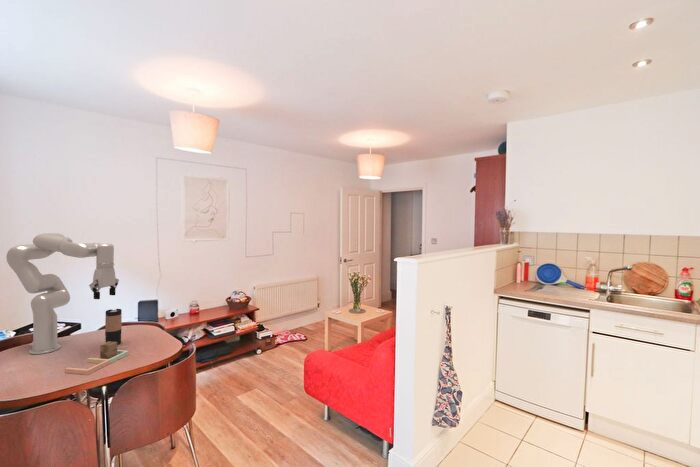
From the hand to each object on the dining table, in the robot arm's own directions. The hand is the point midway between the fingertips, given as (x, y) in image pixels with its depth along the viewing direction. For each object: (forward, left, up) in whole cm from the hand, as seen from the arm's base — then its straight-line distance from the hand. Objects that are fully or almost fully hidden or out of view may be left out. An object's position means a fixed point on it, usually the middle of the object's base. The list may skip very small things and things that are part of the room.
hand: (104, 297), depth 173 cm
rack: (+10, -13, -30) cm, 35 cm away
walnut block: (+10, -7, -30) cm, 33 cm away
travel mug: (-4, +10, -31) cm, 32 cm away
